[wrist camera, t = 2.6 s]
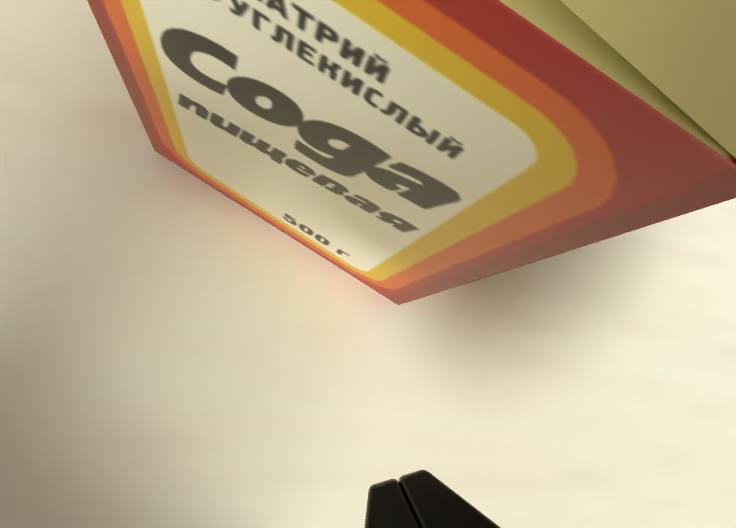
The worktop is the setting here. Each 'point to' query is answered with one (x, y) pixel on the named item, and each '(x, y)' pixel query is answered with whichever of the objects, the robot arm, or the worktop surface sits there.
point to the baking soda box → (439, 121)
